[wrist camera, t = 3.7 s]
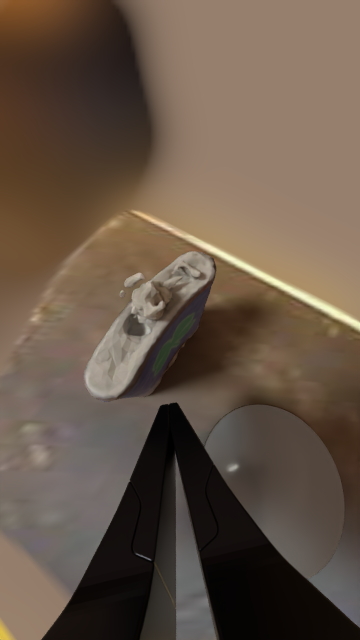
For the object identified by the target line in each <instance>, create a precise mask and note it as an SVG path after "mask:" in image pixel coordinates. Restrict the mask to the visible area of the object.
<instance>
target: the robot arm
mask: <svg viewBox="0 0 360 640" xmlns="http://www.w3.org/2000/svg"><path fill="white" fill-rule="evenodd" d="M175 453H176V458H177V462H178V467H179V471H180V476H181V480H182V485H183V489H184V494H185V498H186V503H187V507H188V512H189V517H190V521H191V526H192V530H193V535H194V539H195V544H196V548H197V553H198V557H199V562H200V566H201V571H202V575H203V580H204V584H205V589H206V593H207V598H208V602H209V607H210V611H211V616H212V620H213V625H214V630H215V634H216V639H217V640H360V627H358V626H357V625H356V624H355V623H353V622H352V621H351V620H350V619H349V618H348V617H347V616H346V615H345V614H344V613H343V612H342V611H341V610H339V609H338V608H337V607H336V606H335V605H334V604H333V603H332V602H331V601H330V600H329V599H328V598H327V597H326V596H324V595H323V594H322V593H321V592H320V591H319V590H318V589H317V588H316V587H315V586H314V585H313V584H312V583H310V582H309V581H308V580H307V579H306V578H305V577H304V576H303V575H302V574H301V573H300V572H299V571H298V570H297V569H295V568H294V567H293V566H292V565H291V564H290V563H289V562H288V561H287V560H286V559H285V558H284V557H283V556H282V555H281V554H280V552H279V551H278V550H277V549H276V548H275V547H274V545H273V544H272V543H271V542H270V541H269V539H268V538H267V537H266V535H265V534H264V533H263V532H262V530H261V529H260V528H259V526H258V525H257V524H256V522H255V521H254V520H253V518H252V517H251V516H250V515H249V513H248V512H247V511H246V509H245V508H244V507H243V505H242V504H241V503H240V501H239V500H238V499H237V497H236V496H235V495H234V493H233V492H232V490H231V489H230V488H229V486H228V485H227V483H226V482H225V480H224V479H223V477H222V475H221V474H220V472H219V471H218V469H217V467H216V466H215V464H214V463H213V461H212V459H211V458H210V456H209V454H208V453H207V451H206V449H205V448H204V446H203V444H202V443H201V441H200V439H199V438H198V436H197V434H196V433H195V431H194V429H193V428H192V426H191V425H190V423H189V421H188V420H187V418H186V416H185V415H184V413H183V411H182V410H181V408H180V406H179V405H178V403H170V404H165V405H161V406H160V408H159V410H158V413H157V415H156V417H155V420H154V422H153V425H152V427H151V430H150V432H149V434H148V437H147V439H146V442H145V444H144V447H143V449H142V451H141V454H140V456H139V459H138V461H137V464H136V466H135V468H134V471H133V473H132V476H131V478H130V482H129V483H128V485H127V488H126V490H125V493H124V495H123V497H122V499H121V502H120V504H119V506H118V509H117V511H116V513H115V515H114V517H113V519H112V521H111V523H110V525H109V527H108V529H107V531H106V533H105V535H104V537H103V539H102V541H101V543H100V545H99V547H98V548H97V550H96V552H95V554H94V556H93V558H92V560H91V562H90V564H89V566H88V568H87V570H86V572H85V574H84V576H83V578H82V580H81V581H80V583H79V585H78V587H77V589H76V591H75V592H74V594H73V596H72V598H71V599H70V601H69V602H68V604H67V606H66V607H65V609H64V610H63V611H62V613H61V614H60V616H59V617H58V619H57V620H56V621H55V623H54V624H53V625H52V627H51V628H50V629H49V630H48V632H47V633H46V634H45V636H44V637H43V638H42V640H176V609H175V608H176V480H175Z"/></svg>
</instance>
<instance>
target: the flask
mask: <svg viewBox="0 0 360 640" xmlns="http://www.w3.org/2000/svg"><path fill="white" fill-rule="evenodd" d="M215 273H216V265H215V262H214V259H213V258H212V257H210V256H208V255H206V254H204V253H202V252H194V251H190V252H187V253H185V254H182V255H181V256H180V257H178V258H177V259H176V260H175V261H173V262H172V263H171V264H170V265H168V266H167V267H165V268H164V269H163V270H162V271H160V272H159V273H158V274H157V275H156V276H154V277H153V278H152V279H151V280H150V281H149V282H147V283H143V284H142V285H141V286H140V288H137V289H135V290H134V291H133V294H132V299H131V301H130V302H129V303H128V304H127V305H126V307H125V308H124V309H123V310H122V311H121V313H120V314H119V316H118V317H117V318H116V320H115V321H114V322H113V324H112V325H111V327H110V328H109V330H108V332H107V333H106V335H105V336H104V337H103V339H102V340H101V341H100V343H99V344H98V346H97V348H96V349H95V351H94V353H93V355H92V357H91V358H90V359H89V361H88V364H87V366H86V369H85V371H84V374H83V376H84V384H85V386H86V388H87V390H88V391H89V393H90V394H91V395H92V396H93V397H94V398H96V399H98V400H101V401H104V402H109V401H112V400H116V399H121V398H130V397H146V396H149V395H150V394H151V393H152V392H153V391H154V390H155V388H156V387H157V386H158V385H159V384H160V382H161V378H162V376H163V375H164V373H165V372H166V370H168V368H170V367H171V365H172V364H173V363H174V362H175V360H176V359H177V354H178V351H179V349H180V348H181V347H184V345H185V342H186V340H187V339H189V338H190V337H191V336H192V335H193V334H194V333H195V332H196V330H197V329H198V328H199V323H200V319H201V316H202V313H203V311H204V307H205V304H206V301H207V298H208V295H209V293H210V289H211V286H212V283H213V281H214V278H215ZM143 279H145V277H144V276H143V274H141V273H137V274H135V275H133V276H131V277H129V278H127V279H126V281H125V287H133V286H134V285H135V284H136V283H137V282H138V281H140V280H143ZM124 296H125V292H124V291H123V290H122V291H121V292H120V297H124Z"/></svg>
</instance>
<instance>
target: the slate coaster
mask: <svg viewBox="0 0 360 640" xmlns="http://www.w3.org/2000/svg"><path fill="white" fill-rule="evenodd" d="M204 448H205V449H206V451H207V453H208V454H209V456H210V458H211V459H212V461H213V463H214V464H215V466H216V467H217V469H218V471H219V472H220V474H221V475H222V477H223V479H224V480H225V482H226V483H227V485H228V486H229V488H230V489H231V490H232V492H233V493H234V495H235V496H236V497H237V499H238V500H239V501H240V503H241V504H242V505H243V507H244V508H245V509H246V511H247V512H248V513H249V515H250V516H251V517H252V518H253V520H254V521H255V522H256V524H257V525H258V526H259V528H260V529H261V530H262V532H263V533H264V534H265V535H266V537H267V538H268V539H269V541H270V542H271V543H272V544H273V545H274V547H275V548H276V549H277V550H278V551H279V552H280V554H281V555H282V556H283V557H284V558H285V559H286V560H287V561H288V562H289V563H290V564H291V565H292V566H293V567H294V568H295V569H297V570H298V571H299V572H300V573H301V574H302V575H303V576H304V577H305V578H306V579H309V578H310V577H312V576H314V575H315V574H317V573H318V572H319V571H320V570H322V569H323V568H324V567H325V566H326V564H327V563H328V562H329V561H330V559H331V558H332V556H333V555H334V553H335V551H336V549H337V547H338V544H339V542H340V539H341V535H342V531H343V526H344V517H345V502H344V494H343V488H342V484H341V479H340V476H339V473H338V470H337V467H336V465H335V463H334V461H333V458H332V456H331V455H330V453H329V451H328V449H327V447H326V446H325V445H324V443H323V442H322V440H321V439H320V438H319V436H318V435H317V434H316V433H315V432H314V431H313V430H312V429H311V428H310V427H309V426H308V425H307V424H306V423H305V422H303V421H302V420H301V419H300V418H298V417H297V416H295V415H293V414H292V413H290V412H288V411H285V410H283V409H280V408H277V407H274V406H268V405H260V404H253V405H246V406H242V407H239V408H237V409H234V410H232V411H231V412H229V413H228V414H226V415H225V416H224V417H223V418H221V419H220V420H219V421H218V423H217V424H216V425H215V426H214V427H213V429H212V431H211V432H210V434H209V436H208V438H207V440H206V442H205V445H204Z"/></svg>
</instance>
